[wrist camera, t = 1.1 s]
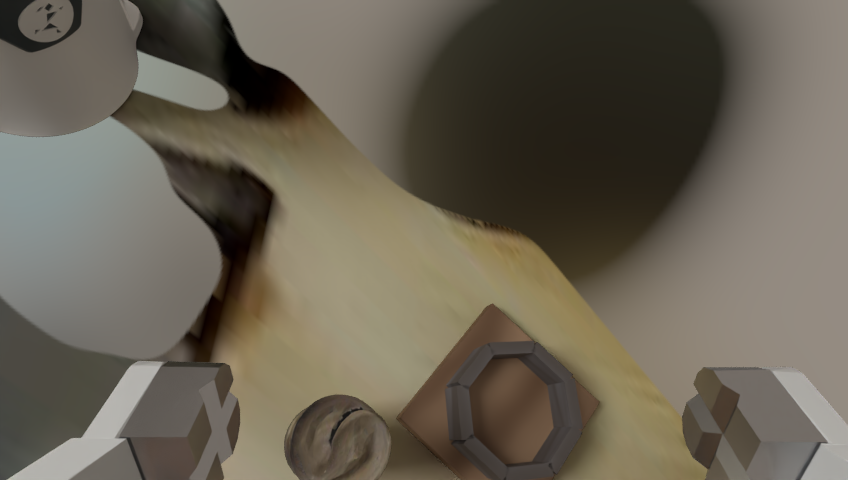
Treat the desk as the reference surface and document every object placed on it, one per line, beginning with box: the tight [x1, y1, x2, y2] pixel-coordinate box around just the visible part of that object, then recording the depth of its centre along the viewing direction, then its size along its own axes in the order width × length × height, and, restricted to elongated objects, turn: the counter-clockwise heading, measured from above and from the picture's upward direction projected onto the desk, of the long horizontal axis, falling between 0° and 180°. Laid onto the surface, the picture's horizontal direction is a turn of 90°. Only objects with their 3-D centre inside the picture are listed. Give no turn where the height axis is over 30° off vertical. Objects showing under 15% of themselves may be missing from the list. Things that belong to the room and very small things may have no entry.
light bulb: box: [284, 395, 391, 480], centre depth 35 cm, size 6×6×15 cm
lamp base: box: [396, 303, 599, 480], centre depth 45 cm, size 13×13×4 cm
